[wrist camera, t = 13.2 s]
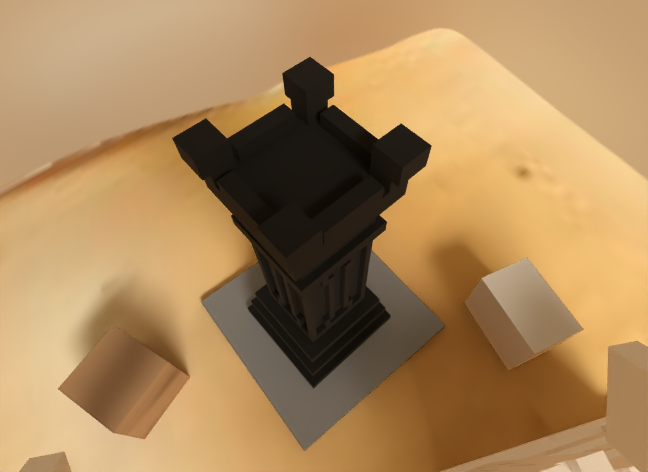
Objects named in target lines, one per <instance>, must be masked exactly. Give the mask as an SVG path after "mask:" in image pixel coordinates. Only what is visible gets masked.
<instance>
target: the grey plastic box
mask: <svg viewBox="0 0 648 472" xmlns="http://www.w3.org/2000/svg"><path fill="white" fill-rule="evenodd" d="M464 304H465V305H466V307H467V308H468V310H469V311H470V313H471V314H472V316H473V317H474V319H475V321H476V322H477V324H478V325H479V327H480V328H481V330H482V331H483V333H484V334H485V336H486V337H487V339H488V340H489V342H490V343H491V345H492V347H493V348H494V350H495V351H496V353H497V354H498V356H499V357H500V359H501V360H502V362H503V363H504V365H505V366H506V368H507V370H508V371H509V370H511V369H513V368H515V367H517V366H519V365H521V364H523V363H525V362H527V361H529V360H531V359H533V358H535V357H537V356H539V355H541V354H543V353H545V352H547V351H548V350H550V349H552V348H554V347H556V346H557V345H559V344H560V343H562V342H564V341H565V340H567V339H569V338H570V337H572V336H574V335H575V334H577V333H579V332H580V331H582V330H583V328H582V327H581V325H580V324H579V323H578V321H577V320H576V319H575V318H574V316H573V315H572V314H571V313H570V311H569V310H568V309H567V307H566V306H565V305H564V304H563V302H562V301H561V300H560V298H559V297H558V296H557V295H556V293H555V292H554V291H553V290H552V288H551V287H550V286H549V284H548V283H547V282H546V281H545V279H544V278H543V277H542V275H541V274H540V273H539V272H538V270H537V269H536V268H535V266H534V265H533V264H532V263H531V261H530V260H529V259H528V258H524V259H522V260H520V261H518V262H516V263H513V264H511V265H509V266H507V267H505V268H502V269H500V270H498V271H496V272H494V273H491V274H489V275H487V276H485V277H482V278H481V279H480V281H479V282H478V284H477V285H476V286H475V288H474V289H473V291H472V292H471V293H470V295H469V296H468V298H467V299H466V300H465V302H464Z"/></svg>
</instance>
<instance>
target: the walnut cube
mask: <svg viewBox="0 0 648 472" xmlns="http://www.w3.org/2000/svg"><path fill="white" fill-rule="evenodd" d="M189 378H190V377H189V376H187V375H186V374H185V373H183V372H182V371H180V370H179V369H177V368H176V367H174V366H173V365H172V364H170V363H169V362H167V361H166V360H164V359H163V358H161V357H160V356H159V355H157V354H156V353H154V352H153V351H151V350H150V349H148V348H147V347H146V346H144V345H143V344H141V343H140V342H138V341H137V340H135V339H134V338H133V337H131V336H130V335H128V334H127V333H125V332H124V331H122V330H121V329H119V328H118V327H117V326H115V325H113V326H112V327H111V328H110V329H109V330H108V332H107V333H106V334H105V335H104V336H103V337H102V339H101V340H100V341H99V342H98V343H97V344H96V345H95V347H94V348H93V349H92V350H91V351H90V352H89V353H88V355H87V356H86V357H85V358H84V359H83V360H82V362H81V363H80V364H79V365H78V366H77V367H76V368H75V370H74V371H73V372H72V373H71V374H70V375H69V377H68V378H67V379H66V380H65V381H64V382H63V383H62V385H61V386H60V387H59V388H58V390H60V391H61V392H62V393H63V394H65V395H66V396H67V397H69V398H70V399H71V400H72V401H74V402H75V403H76V404H77V405H79V406H80V407H81V408H82V409H84V410H85V411H86V412H87V413H89V414H90V415H91V416H93V417H94V418H95V419H96V420H98V421H99V422H100V423H101V424H103V425H104V426H105V427H106V428H108V429H109V430H110V431H111V432H113V433H117V434H122V435H127V436H132V437H136V438H141V439H145V438H146V437H147V435H148V434H149V433H150V431H151V430H152V428H153V427H154V426H155V424H156V423H157V422H158V420H159V419H160V417H161V416H162V415H163V413H164V412H165V411H166V409H167V408H168V407H169V405H170V404H171V402H172V401H173V400H174V398H175V397H176V396H177V394H178V393H179V392H180V390H181V389H182V387H183V386H184V385H185V383H186V382H187V381H188V379H189Z"/></svg>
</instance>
